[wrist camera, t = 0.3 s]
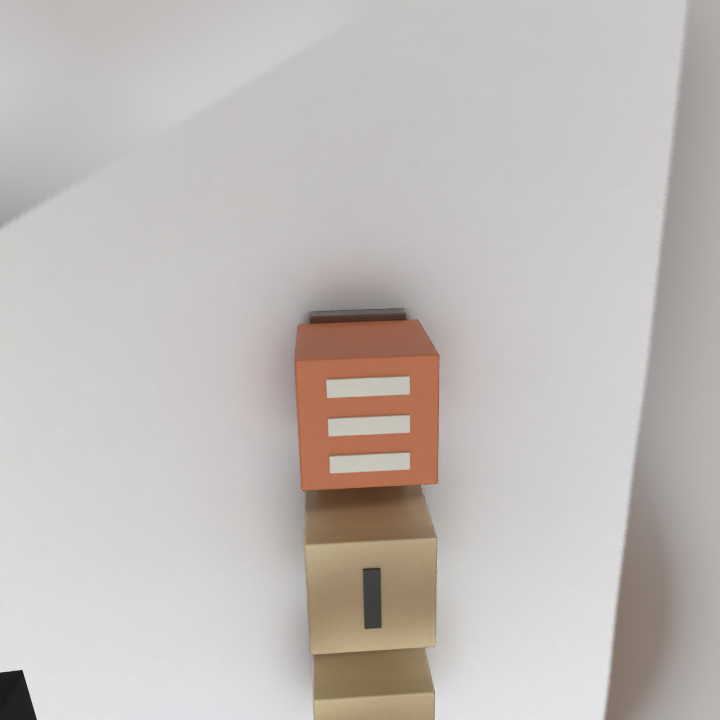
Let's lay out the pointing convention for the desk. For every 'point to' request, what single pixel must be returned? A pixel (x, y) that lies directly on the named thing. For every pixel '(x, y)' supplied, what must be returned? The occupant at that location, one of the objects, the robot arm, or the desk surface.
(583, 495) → the desk surface
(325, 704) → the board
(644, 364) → the desk surface
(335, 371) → the striped orange block
